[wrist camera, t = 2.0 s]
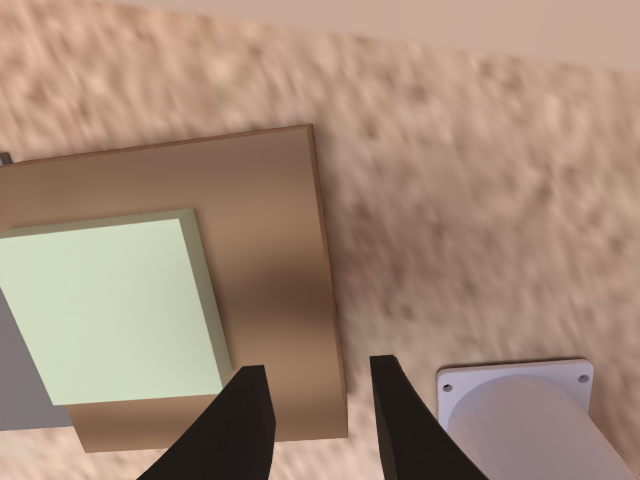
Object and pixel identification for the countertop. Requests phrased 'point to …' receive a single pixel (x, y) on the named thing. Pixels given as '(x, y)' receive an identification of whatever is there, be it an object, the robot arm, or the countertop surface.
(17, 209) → the walnut board
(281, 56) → the countertop surface
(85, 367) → the coaster
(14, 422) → the rubber mat
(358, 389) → the countertop surface
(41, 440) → the countertop surface
